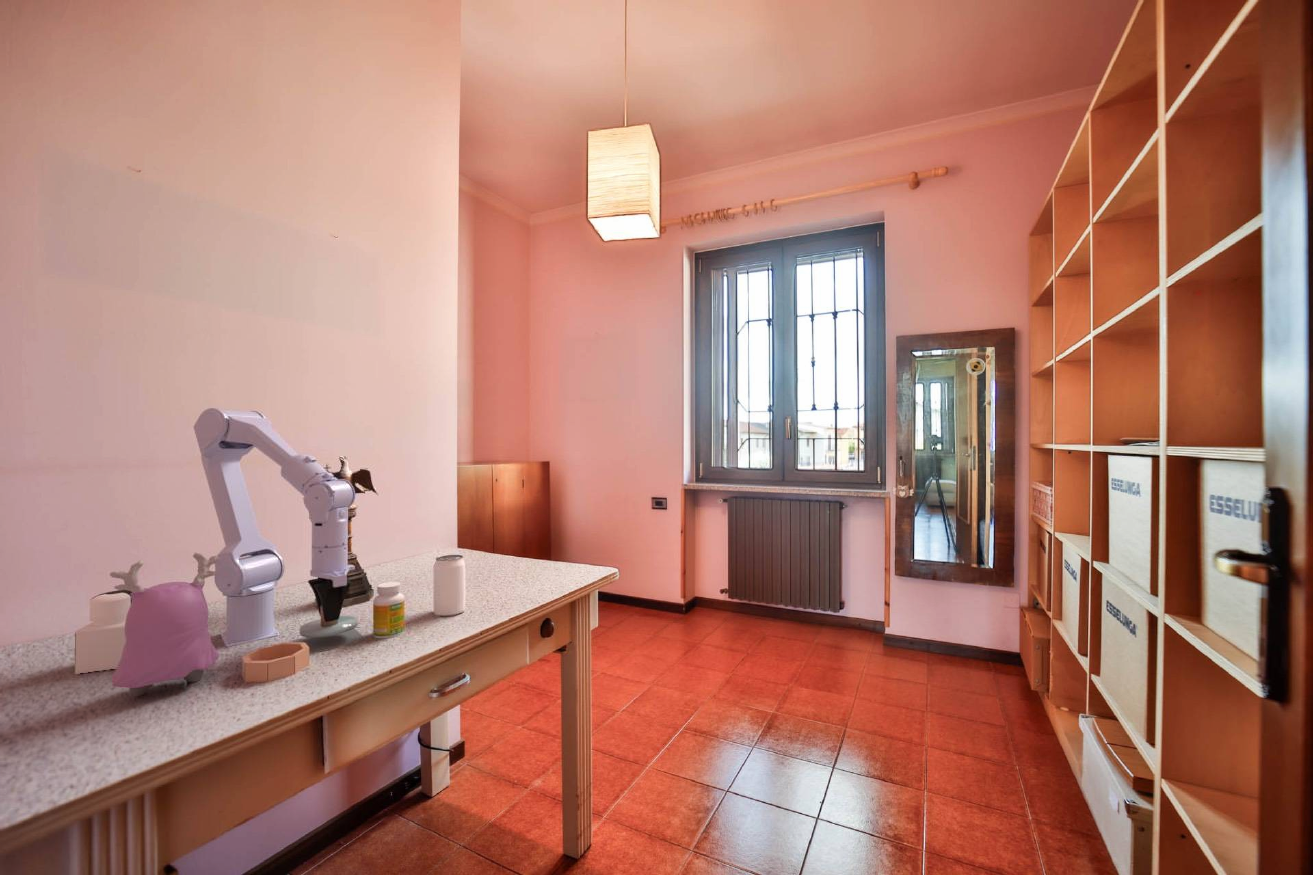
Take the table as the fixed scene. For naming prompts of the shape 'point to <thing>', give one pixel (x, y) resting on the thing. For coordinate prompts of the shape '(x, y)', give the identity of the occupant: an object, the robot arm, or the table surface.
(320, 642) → the mat
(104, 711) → the table surface
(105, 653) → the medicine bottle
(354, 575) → the bird statue
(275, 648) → the bowl
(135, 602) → the toy character
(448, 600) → the can
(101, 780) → the table surface
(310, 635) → the lid
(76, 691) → the table surface
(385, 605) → the supplement bottle
